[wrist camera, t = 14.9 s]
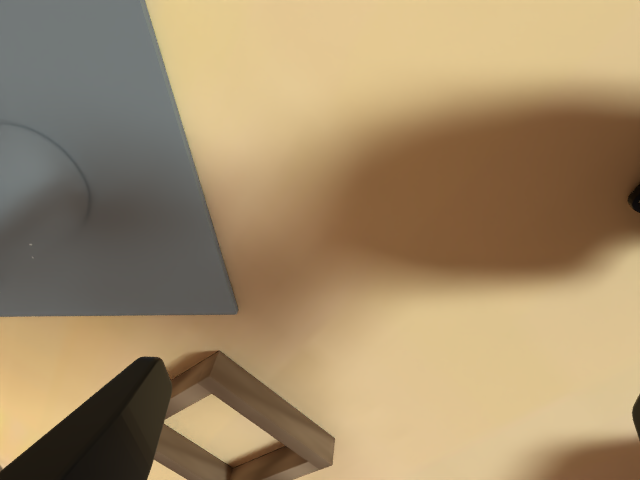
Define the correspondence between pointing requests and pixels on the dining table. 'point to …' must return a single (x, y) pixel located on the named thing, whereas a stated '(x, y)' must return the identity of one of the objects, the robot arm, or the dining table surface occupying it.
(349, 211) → the dining table surface
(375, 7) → the dining table surface
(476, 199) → the dining table surface
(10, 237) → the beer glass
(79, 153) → the slate mat
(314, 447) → the walnut holder
